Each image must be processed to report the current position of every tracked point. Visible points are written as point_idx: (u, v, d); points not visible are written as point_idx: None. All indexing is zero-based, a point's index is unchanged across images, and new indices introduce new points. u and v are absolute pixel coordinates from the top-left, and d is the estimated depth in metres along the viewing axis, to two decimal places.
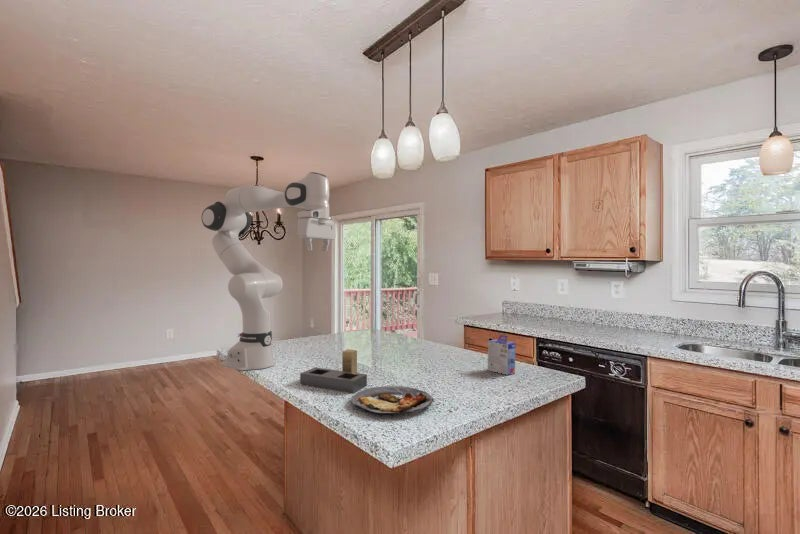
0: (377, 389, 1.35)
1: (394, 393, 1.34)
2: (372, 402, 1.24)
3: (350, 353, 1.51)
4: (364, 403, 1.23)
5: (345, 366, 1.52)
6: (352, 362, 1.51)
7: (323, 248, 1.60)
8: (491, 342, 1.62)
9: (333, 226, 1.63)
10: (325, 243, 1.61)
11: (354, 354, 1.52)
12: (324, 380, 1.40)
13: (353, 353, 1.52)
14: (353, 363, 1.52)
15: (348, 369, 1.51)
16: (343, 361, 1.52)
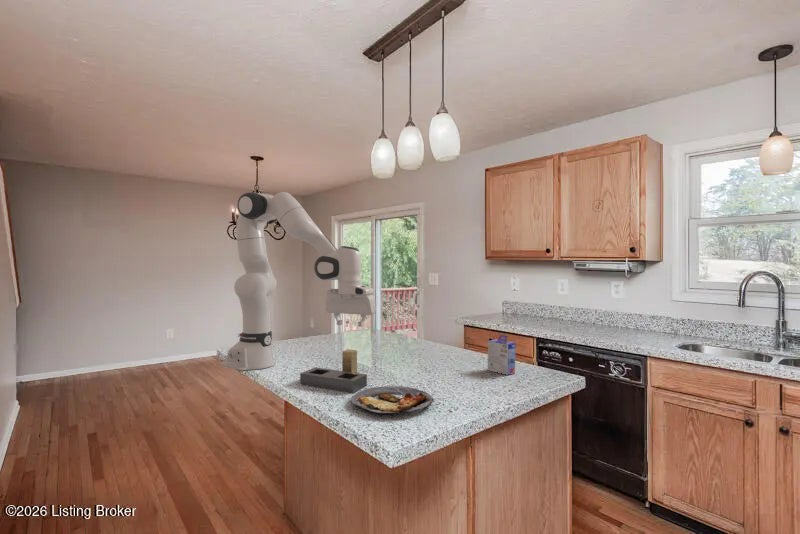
0: (377, 389, 1.35)
1: (394, 393, 1.34)
2: (372, 402, 1.24)
3: (350, 353, 1.51)
4: (364, 403, 1.23)
5: (345, 366, 1.52)
6: (352, 362, 1.51)
7: (340, 322, 1.55)
8: (491, 342, 1.62)
9: None
10: (337, 316, 1.55)
11: (354, 354, 1.52)
12: (324, 380, 1.40)
13: (353, 353, 1.52)
14: (353, 363, 1.52)
15: (348, 369, 1.51)
16: (343, 361, 1.52)
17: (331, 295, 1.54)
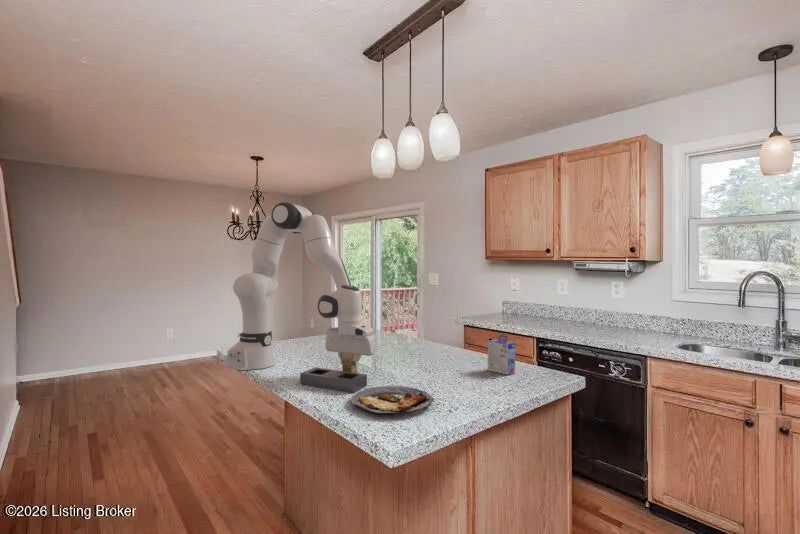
0: (377, 389, 1.35)
1: (394, 393, 1.34)
2: (372, 402, 1.24)
3: (350, 353, 1.51)
4: (364, 403, 1.23)
5: (345, 366, 1.52)
6: (352, 361, 1.51)
7: None
8: (491, 342, 1.62)
9: None
10: (341, 356, 1.55)
11: (354, 354, 1.52)
12: (324, 380, 1.40)
13: None
14: None
15: (348, 369, 1.51)
16: (343, 361, 1.52)
17: (331, 334, 1.55)
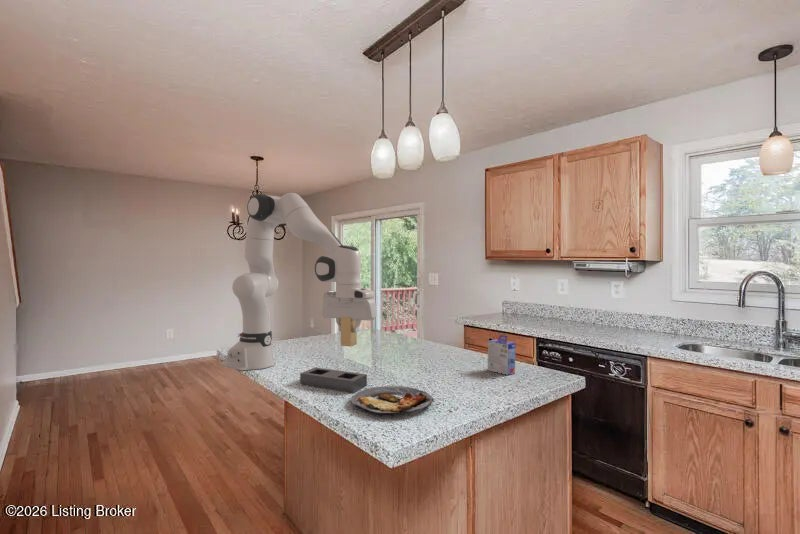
0: (377, 389, 1.35)
1: (394, 393, 1.34)
2: (372, 402, 1.24)
3: (349, 318, 1.38)
4: (364, 403, 1.23)
5: (343, 333, 1.39)
6: (351, 327, 1.39)
7: None
8: (491, 342, 1.62)
9: None
10: (339, 322, 1.42)
11: (353, 320, 1.40)
12: (324, 380, 1.40)
13: None
14: None
15: (347, 336, 1.39)
16: (341, 327, 1.40)
17: (328, 298, 1.42)
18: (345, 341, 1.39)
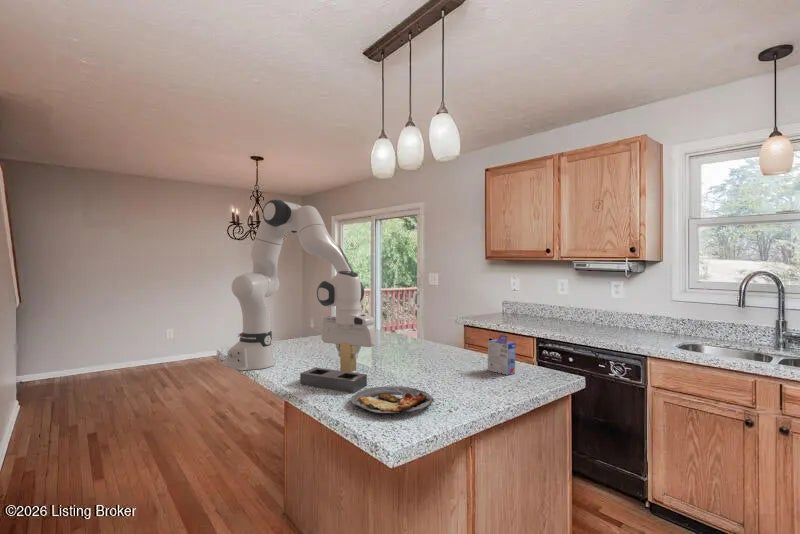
0: (377, 389, 1.35)
1: (394, 393, 1.34)
2: (372, 402, 1.24)
3: (349, 344, 1.38)
4: (364, 403, 1.23)
5: (343, 358, 1.39)
6: (350, 354, 1.39)
7: None
8: (491, 342, 1.62)
9: None
10: (339, 347, 1.42)
11: (353, 346, 1.40)
12: (324, 380, 1.40)
13: None
14: None
15: (346, 362, 1.39)
16: (341, 353, 1.40)
17: (328, 324, 1.42)
18: (344, 367, 1.39)
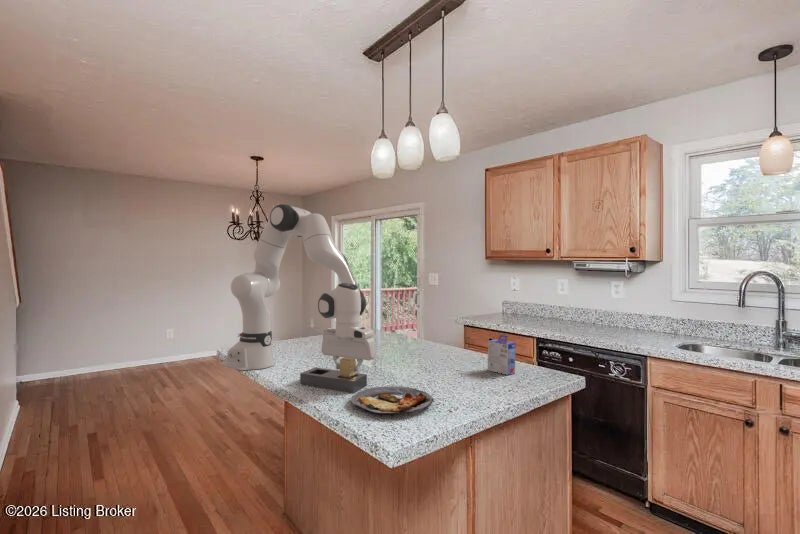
0: (377, 389, 1.35)
1: (394, 393, 1.34)
2: (372, 402, 1.24)
3: (348, 361, 1.39)
4: (364, 403, 1.23)
5: (342, 375, 1.40)
6: (350, 371, 1.39)
7: None
8: (491, 342, 1.62)
9: None
10: (336, 359, 1.43)
11: (352, 363, 1.40)
12: (324, 380, 1.40)
13: (351, 361, 1.40)
14: (352, 372, 1.40)
15: None
16: (340, 370, 1.40)
17: (327, 336, 1.42)
18: None
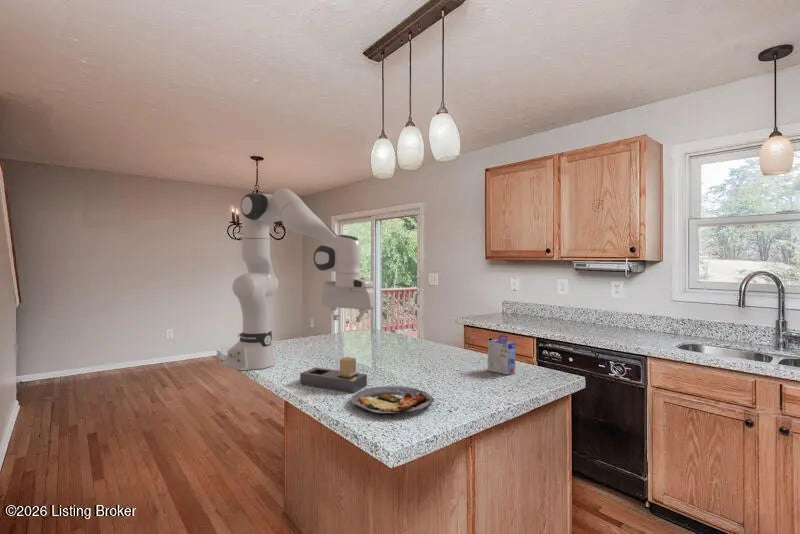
0: (377, 389, 1.35)
1: (394, 393, 1.34)
2: (372, 402, 1.24)
3: (348, 361, 1.39)
4: (364, 403, 1.23)
5: (342, 375, 1.40)
6: (350, 371, 1.39)
7: (337, 317, 1.43)
8: (491, 342, 1.62)
9: None
10: (333, 311, 1.44)
11: (352, 363, 1.40)
12: (324, 380, 1.40)
13: (351, 361, 1.40)
14: (352, 372, 1.40)
15: None
16: (341, 370, 1.40)
17: (327, 287, 1.43)
18: None
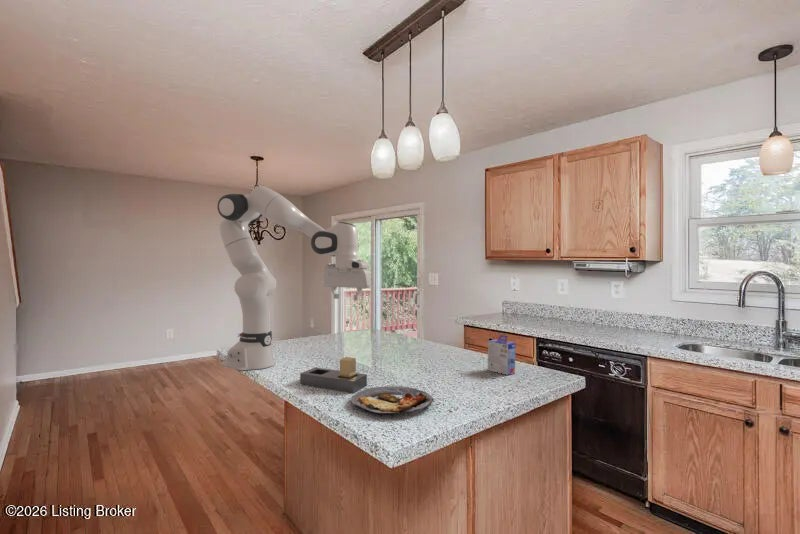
0: (377, 389, 1.35)
1: (394, 393, 1.34)
2: (372, 402, 1.24)
3: (348, 361, 1.39)
4: (364, 403, 1.23)
5: (342, 375, 1.40)
6: (350, 371, 1.39)
7: (337, 296, 1.60)
8: (491, 342, 1.62)
9: None
10: (334, 290, 1.60)
11: (352, 363, 1.40)
12: (324, 380, 1.40)
13: (351, 361, 1.40)
14: (352, 372, 1.40)
15: None
16: (340, 370, 1.40)
17: (328, 269, 1.59)
18: None
